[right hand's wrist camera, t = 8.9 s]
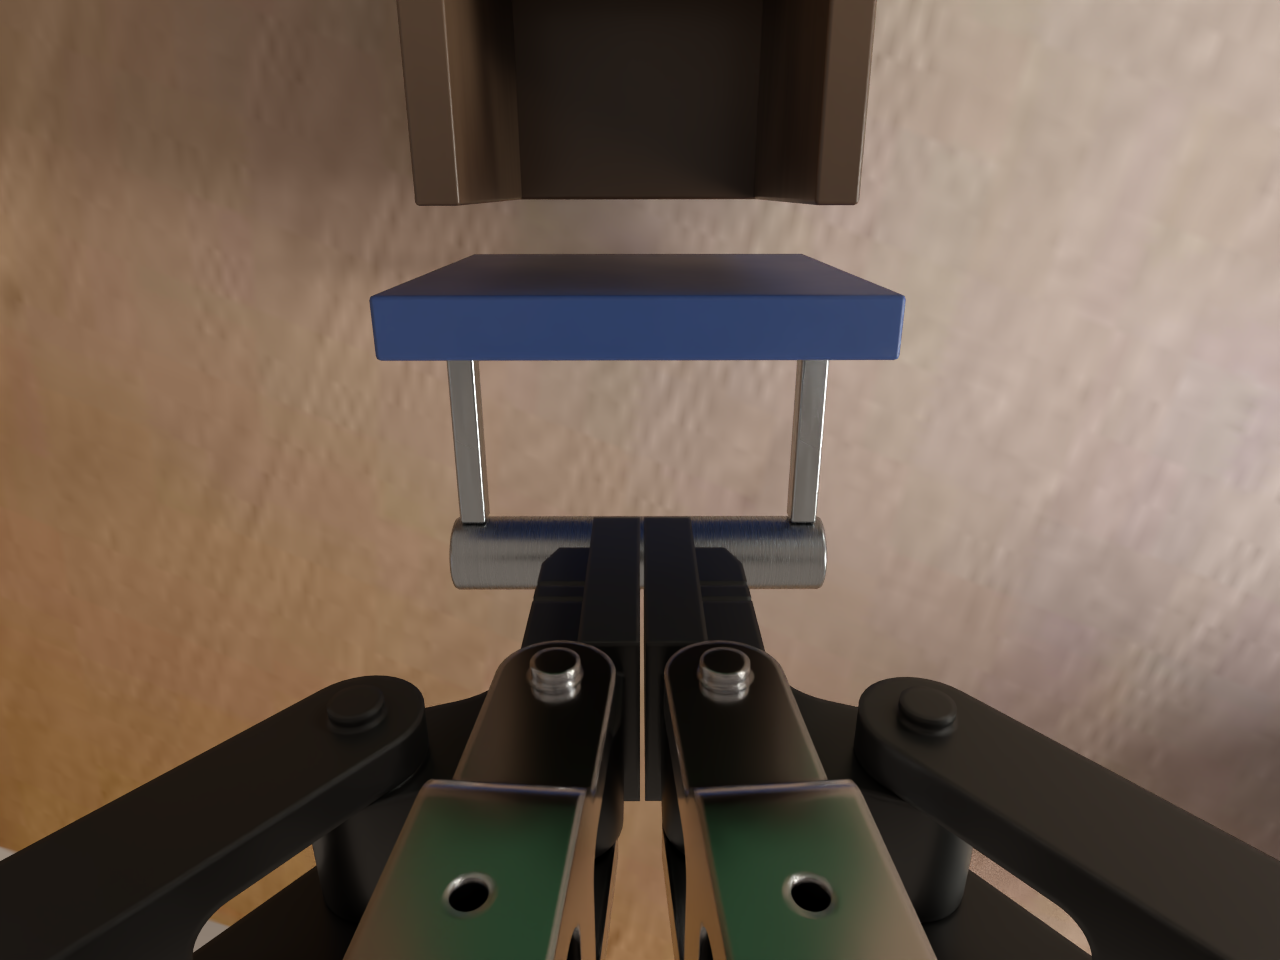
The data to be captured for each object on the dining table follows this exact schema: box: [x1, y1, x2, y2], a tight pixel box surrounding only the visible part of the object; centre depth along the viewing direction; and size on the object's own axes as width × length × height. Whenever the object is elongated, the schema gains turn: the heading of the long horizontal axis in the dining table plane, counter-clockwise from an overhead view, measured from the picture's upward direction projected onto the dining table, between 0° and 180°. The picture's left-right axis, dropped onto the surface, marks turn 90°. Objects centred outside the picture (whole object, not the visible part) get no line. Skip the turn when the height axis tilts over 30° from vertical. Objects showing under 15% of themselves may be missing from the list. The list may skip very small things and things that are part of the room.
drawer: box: [369, 0, 906, 589], centre depth 17 cm, size 25×10×10 cm, turn 0°
